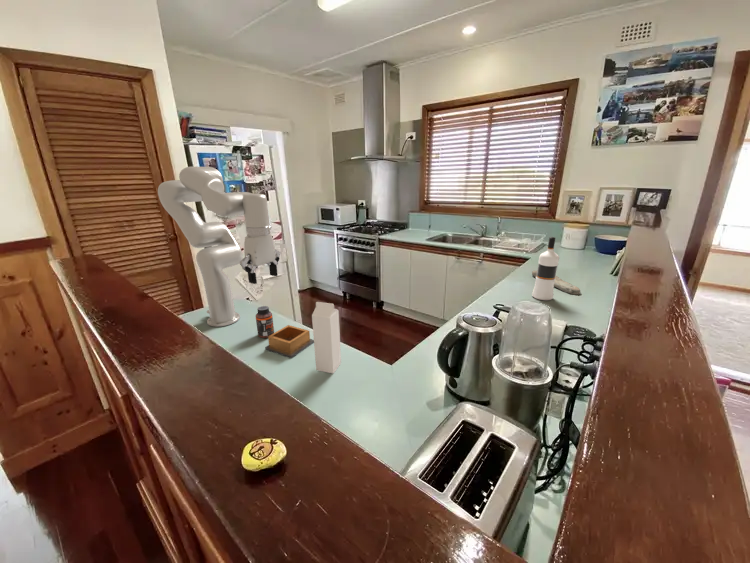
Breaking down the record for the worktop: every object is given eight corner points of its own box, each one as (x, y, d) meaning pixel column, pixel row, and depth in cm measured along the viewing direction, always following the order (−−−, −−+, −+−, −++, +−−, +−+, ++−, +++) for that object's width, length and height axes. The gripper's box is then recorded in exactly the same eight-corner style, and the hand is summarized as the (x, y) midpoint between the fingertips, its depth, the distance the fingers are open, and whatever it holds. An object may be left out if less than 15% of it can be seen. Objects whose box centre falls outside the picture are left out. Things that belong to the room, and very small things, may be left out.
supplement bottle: (269, 339, 116) (265, 311, 113) (255, 338, 117) (251, 310, 114) (277, 332, 122) (274, 305, 118) (263, 330, 123) (259, 304, 119)
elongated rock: (567, 298, 156) (584, 298, 158) (570, 288, 155) (587, 288, 156) (526, 274, 189) (541, 274, 190) (528, 266, 187) (543, 266, 188)
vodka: (528, 294, 158) (537, 235, 148) (546, 294, 158) (556, 235, 148) (537, 301, 149) (548, 239, 140) (556, 300, 149) (568, 238, 140)
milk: (324, 360, 103) (320, 298, 96) (341, 363, 101) (338, 300, 94) (315, 370, 97) (310, 305, 90) (333, 374, 95) (329, 307, 89)
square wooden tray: (265, 349, 109) (263, 337, 108) (289, 335, 119) (288, 323, 118) (291, 358, 104) (289, 345, 102) (314, 342, 114) (313, 330, 112)
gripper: (269, 227, 115) (274, 271, 120) (228, 234, 100) (236, 284, 106) (284, 228, 111) (288, 274, 117) (245, 236, 97) (251, 288, 102)
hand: (263, 279), depth 111 cm, fingers open, 9 cm apart
